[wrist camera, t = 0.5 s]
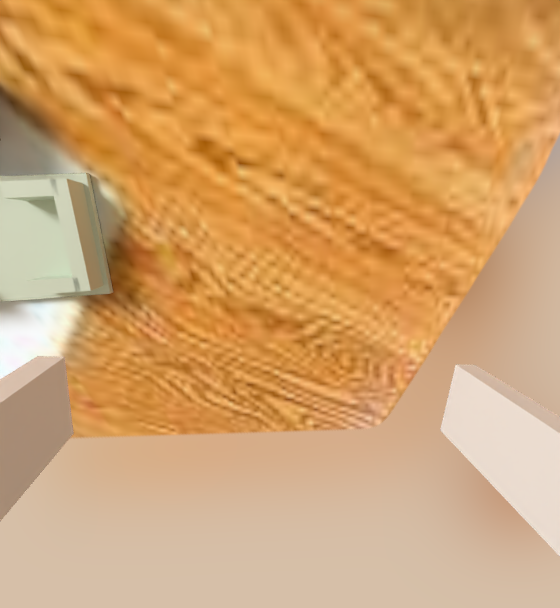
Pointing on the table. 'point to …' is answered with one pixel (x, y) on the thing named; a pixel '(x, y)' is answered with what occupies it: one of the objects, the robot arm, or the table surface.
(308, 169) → the table surface
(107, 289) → the jig
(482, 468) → the robot arm
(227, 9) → the table surface
